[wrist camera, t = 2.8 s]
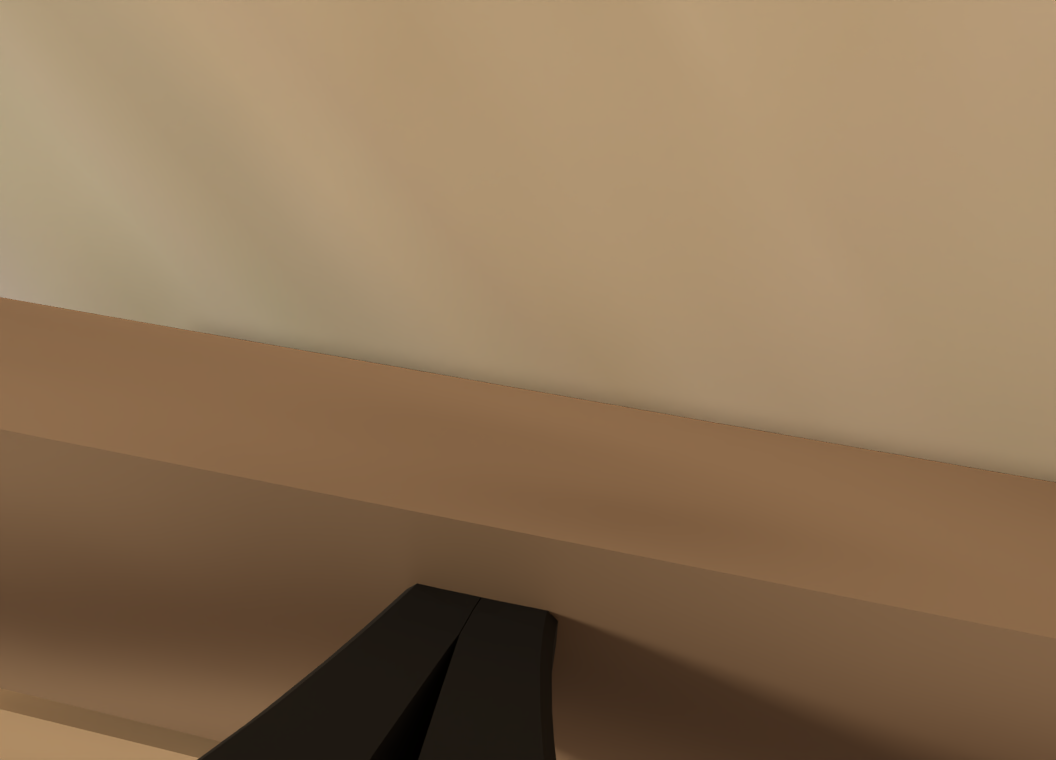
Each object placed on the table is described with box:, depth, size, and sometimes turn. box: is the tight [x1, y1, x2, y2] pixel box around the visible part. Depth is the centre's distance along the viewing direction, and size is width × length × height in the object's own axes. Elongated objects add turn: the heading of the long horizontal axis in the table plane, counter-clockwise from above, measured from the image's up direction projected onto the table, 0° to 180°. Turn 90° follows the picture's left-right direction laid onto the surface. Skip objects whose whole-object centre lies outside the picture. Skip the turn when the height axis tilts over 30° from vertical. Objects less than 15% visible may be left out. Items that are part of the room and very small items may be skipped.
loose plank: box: [0, 297, 1056, 760], centre depth 10 cm, size 7×22×2 cm, turn 82°
